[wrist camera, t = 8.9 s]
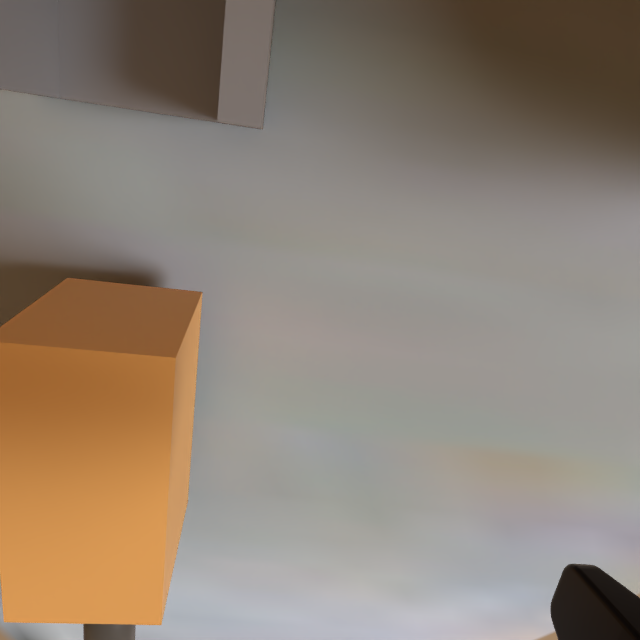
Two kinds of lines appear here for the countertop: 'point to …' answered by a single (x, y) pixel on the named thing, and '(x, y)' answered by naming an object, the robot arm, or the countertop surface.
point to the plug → (95, 453)
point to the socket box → (143, 54)
